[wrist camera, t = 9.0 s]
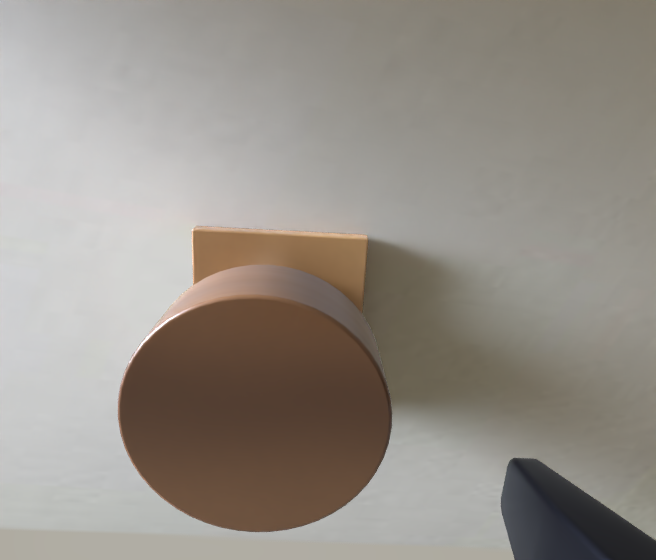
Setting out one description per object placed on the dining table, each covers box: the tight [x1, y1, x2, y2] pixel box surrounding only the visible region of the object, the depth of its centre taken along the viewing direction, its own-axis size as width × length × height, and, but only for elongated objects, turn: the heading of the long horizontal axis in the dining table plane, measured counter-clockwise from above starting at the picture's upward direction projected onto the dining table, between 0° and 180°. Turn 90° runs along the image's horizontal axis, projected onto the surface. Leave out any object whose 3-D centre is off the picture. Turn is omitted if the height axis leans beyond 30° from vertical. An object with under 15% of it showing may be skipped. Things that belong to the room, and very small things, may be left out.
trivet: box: [192, 226, 368, 313], centre depth 15 cm, size 5×5×1 cm
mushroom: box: [118, 265, 392, 532], centre depth 12 cm, size 5×5×6 cm
